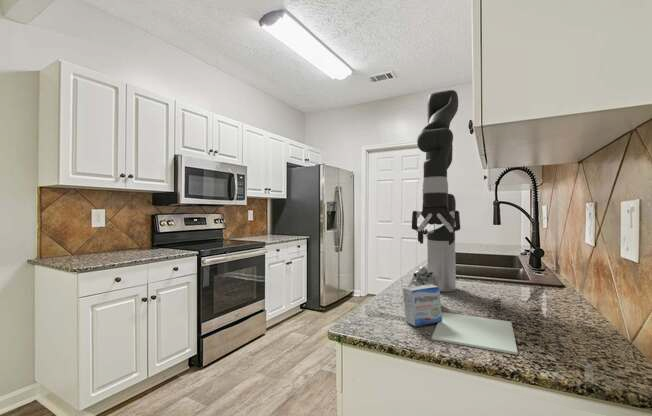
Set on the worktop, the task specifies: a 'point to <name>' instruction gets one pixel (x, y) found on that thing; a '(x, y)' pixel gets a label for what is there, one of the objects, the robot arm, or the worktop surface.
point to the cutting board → (476, 332)
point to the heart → (423, 278)
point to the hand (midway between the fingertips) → (435, 244)
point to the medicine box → (422, 305)
